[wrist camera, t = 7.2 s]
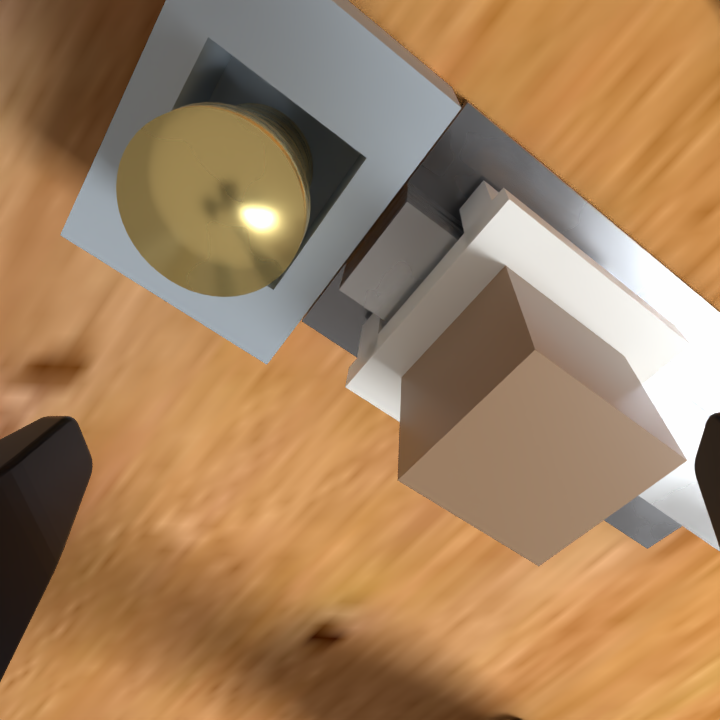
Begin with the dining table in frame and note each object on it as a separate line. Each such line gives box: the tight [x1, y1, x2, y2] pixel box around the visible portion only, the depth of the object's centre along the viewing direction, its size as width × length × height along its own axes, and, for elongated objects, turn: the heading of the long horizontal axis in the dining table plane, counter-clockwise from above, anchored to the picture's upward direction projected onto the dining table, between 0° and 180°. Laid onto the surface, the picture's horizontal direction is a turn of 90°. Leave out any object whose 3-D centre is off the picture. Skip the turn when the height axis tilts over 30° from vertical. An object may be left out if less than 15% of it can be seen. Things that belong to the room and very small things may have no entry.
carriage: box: [345, 180, 691, 566], centre depth 15 cm, size 6×6×7 cm
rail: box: [302, 100, 720, 551], centre depth 18 cm, size 16×8×3 cm, turn 54°
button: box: [116, 102, 313, 297], centre depth 13 cm, size 4×4×4 cm
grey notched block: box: [61, 0, 461, 364], centre depth 15 cm, size 6×8×4 cm
